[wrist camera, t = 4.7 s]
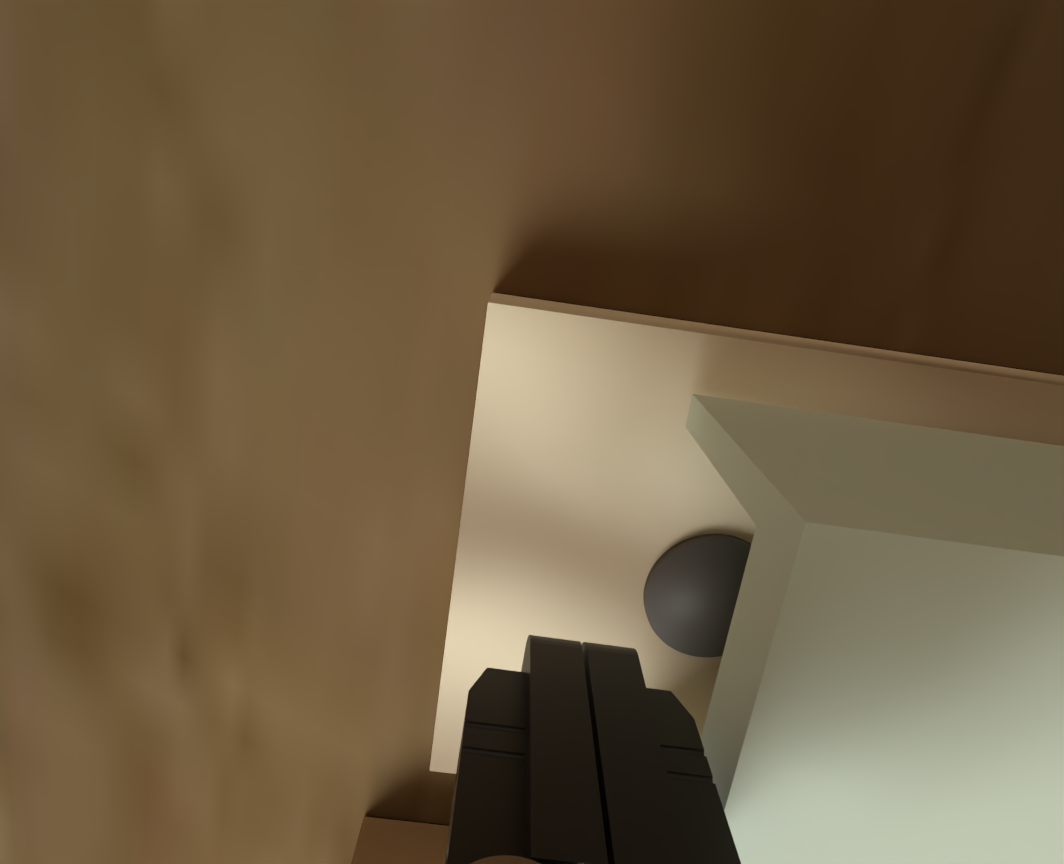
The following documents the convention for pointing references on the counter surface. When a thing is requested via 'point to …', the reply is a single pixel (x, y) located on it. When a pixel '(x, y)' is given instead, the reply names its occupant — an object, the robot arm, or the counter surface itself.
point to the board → (652, 480)
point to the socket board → (400, 842)
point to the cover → (889, 641)
